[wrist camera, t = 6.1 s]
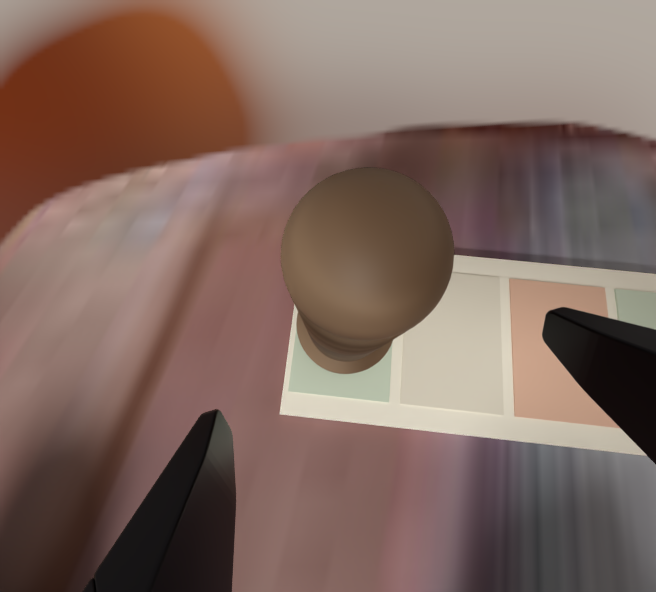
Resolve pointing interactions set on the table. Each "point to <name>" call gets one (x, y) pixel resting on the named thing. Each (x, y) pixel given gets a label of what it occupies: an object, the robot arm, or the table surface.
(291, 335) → the track board
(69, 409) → the table surface
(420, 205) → the pawn
